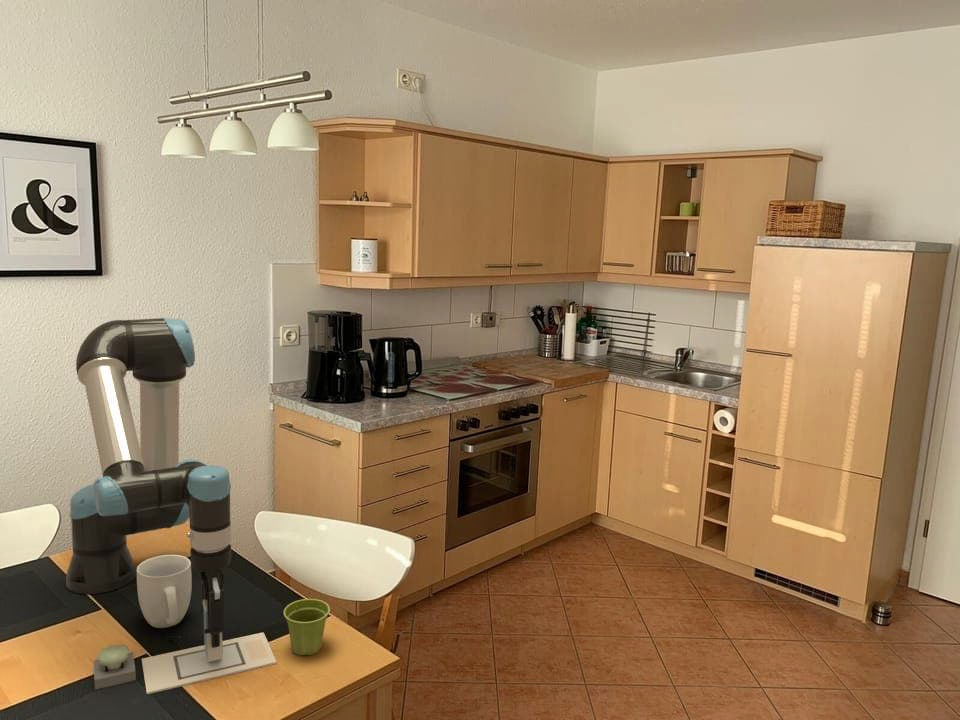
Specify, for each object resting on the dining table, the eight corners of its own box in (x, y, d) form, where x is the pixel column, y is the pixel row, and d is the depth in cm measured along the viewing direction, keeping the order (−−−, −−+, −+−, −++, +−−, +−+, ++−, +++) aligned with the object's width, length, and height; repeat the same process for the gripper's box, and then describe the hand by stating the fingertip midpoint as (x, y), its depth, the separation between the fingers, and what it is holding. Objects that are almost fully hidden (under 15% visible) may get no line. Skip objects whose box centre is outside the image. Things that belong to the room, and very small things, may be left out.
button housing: (94, 669, 146) (93, 660, 145) (133, 661, 149) (132, 651, 149) (94, 689, 140) (94, 680, 139) (135, 680, 143) (135, 670, 143)
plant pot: (338, 644, 158) (339, 607, 156) (307, 666, 150) (307, 627, 148) (306, 631, 163) (306, 594, 161) (274, 651, 155) (273, 613, 153)
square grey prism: (204, 654, 151) (202, 600, 149) (220, 651, 152) (219, 596, 150) (206, 662, 148) (205, 607, 146) (223, 658, 150) (221, 603, 147)
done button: (99, 665, 145) (98, 648, 145) (128, 659, 148) (127, 642, 147) (99, 680, 141) (98, 662, 140) (130, 673, 143) (129, 656, 143)
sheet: (141, 660, 149) (141, 658, 149) (263, 633, 161) (263, 632, 161) (146, 694, 139) (146, 692, 139) (276, 663, 150) (276, 661, 150)
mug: (202, 634, 160) (200, 577, 157) (146, 648, 154) (144, 589, 151) (186, 603, 172) (184, 550, 169) (134, 615, 166) (132, 560, 163)
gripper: (184, 532, 151) (188, 638, 155) (196, 566, 137) (199, 681, 141) (223, 527, 154) (225, 630, 159) (238, 558, 141) (240, 671, 145)
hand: (213, 654), depth 150 cm, fingers closed on square grey prism, 3 cm apart
